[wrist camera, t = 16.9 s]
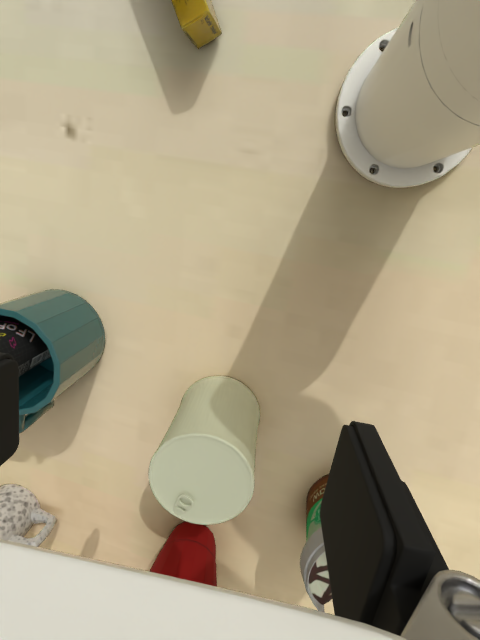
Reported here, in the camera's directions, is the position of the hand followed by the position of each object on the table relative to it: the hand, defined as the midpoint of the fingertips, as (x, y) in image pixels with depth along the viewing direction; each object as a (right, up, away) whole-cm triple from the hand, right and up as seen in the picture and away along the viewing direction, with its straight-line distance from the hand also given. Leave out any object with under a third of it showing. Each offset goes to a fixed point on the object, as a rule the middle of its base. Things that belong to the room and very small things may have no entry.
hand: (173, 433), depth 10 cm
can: (0, -7, +32) cm, 33 cm away
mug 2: (-26, -22, +38) cm, 51 cm away
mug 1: (-19, 0, +31) cm, 36 cm away
